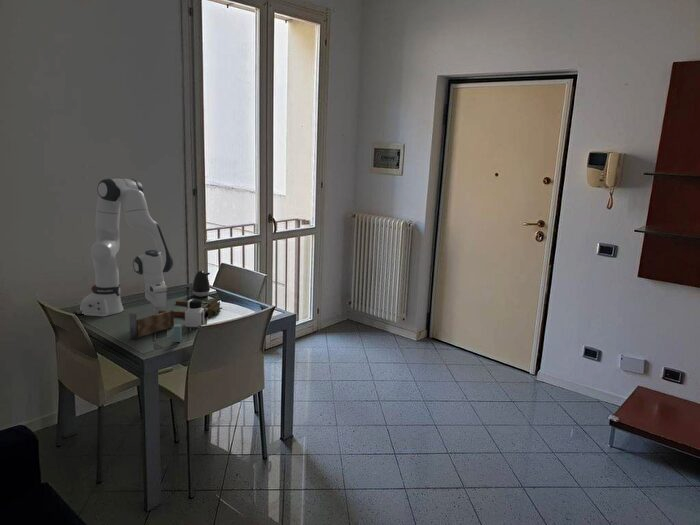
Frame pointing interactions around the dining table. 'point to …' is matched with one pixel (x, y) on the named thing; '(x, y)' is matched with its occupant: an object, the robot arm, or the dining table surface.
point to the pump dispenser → (201, 284)
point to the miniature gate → (208, 307)
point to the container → (194, 313)
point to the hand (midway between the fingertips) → (155, 311)
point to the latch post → (177, 332)
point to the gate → (155, 323)
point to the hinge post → (133, 326)
